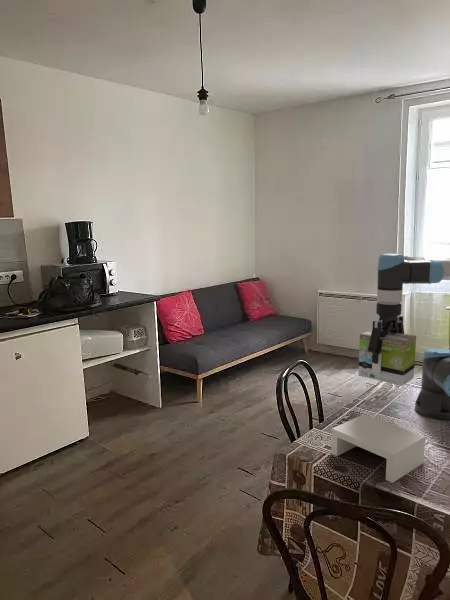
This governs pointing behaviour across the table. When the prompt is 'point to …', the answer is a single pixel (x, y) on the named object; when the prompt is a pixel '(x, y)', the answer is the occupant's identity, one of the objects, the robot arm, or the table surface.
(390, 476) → the white riser stand
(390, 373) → the tea box
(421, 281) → the robot arm
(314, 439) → the table surface
